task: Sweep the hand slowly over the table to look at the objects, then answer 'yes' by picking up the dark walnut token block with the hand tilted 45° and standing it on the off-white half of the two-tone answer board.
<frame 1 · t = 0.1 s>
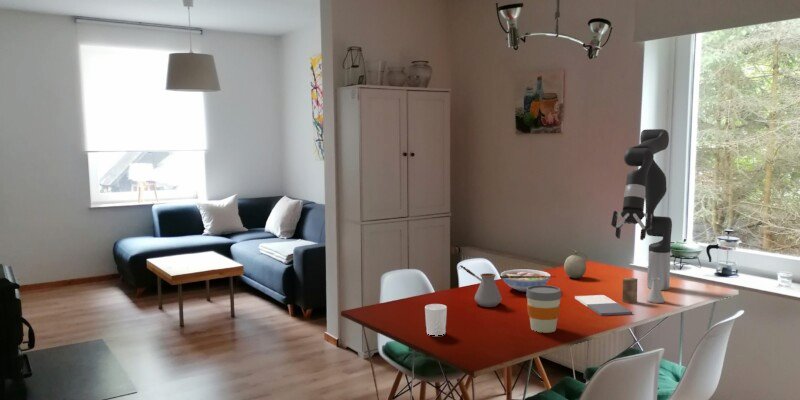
hand: (629, 238, 229), 31 cm above the table, tool tilted 20°, fingers open, 8 cm apart
fruit: (575, 278, 302), on the table
flask: (655, 301, 257), on the table
answer board: (602, 305, 251), on the table
token block: (629, 301, 257), on the table
ramen bowl: (525, 290, 280), on the table
white cup: (436, 334, 220), on the table
coffee pot: (478, 302, 260), on the table
reusable coffee cup: (543, 329, 223), on the table
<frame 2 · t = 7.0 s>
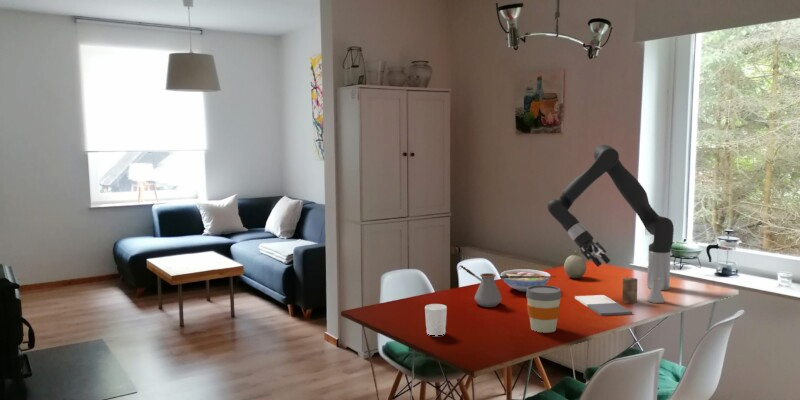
hand: (604, 263, 263), 15 cm above the table, tool tilted 45°, fingers open, 8 cm apart
nothing on the table moved.
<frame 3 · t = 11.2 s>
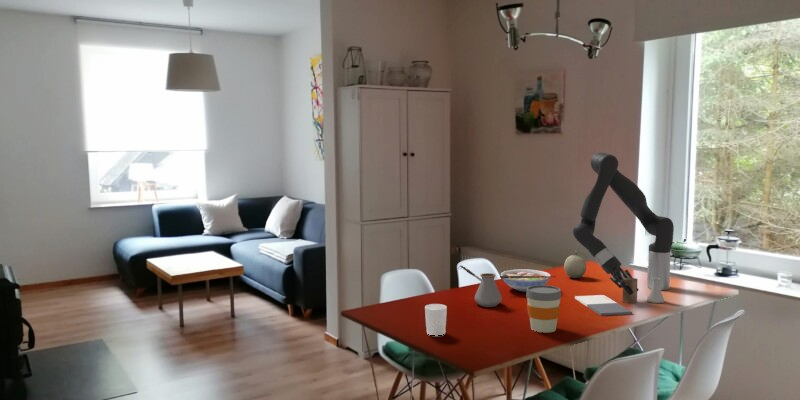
hand: (634, 292, 255), 4 cm above the table, tool tilted 45°, fingers closed on token block, 4 cm apart
token block: (629, 301, 257), on the table, touching gripper
everything else where it was.
when the fingers open (7 cm above the table, at t = 16.6 s): token block drops 1 cm, resting on answer board.
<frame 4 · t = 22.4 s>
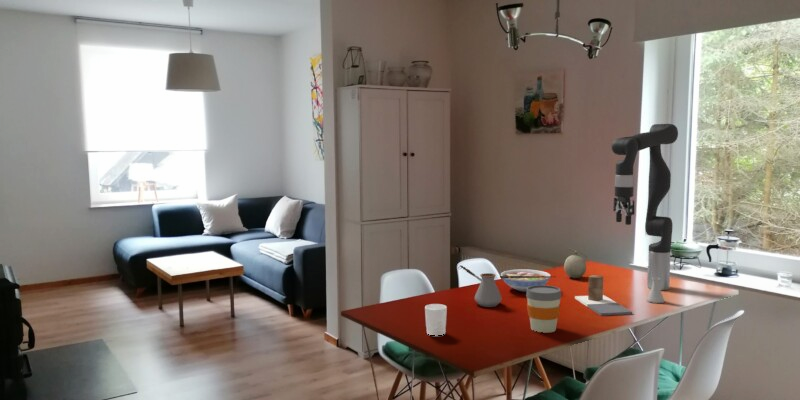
hand: (623, 223, 258), 33 cm above the table, tool pointing down, fingers open, 8 cm apart
token block: (595, 299, 258), point 1 cm above the table, touching answer board
everything else where it was.
at the end: token block inside the target area on the answer board (0.1 cm from its centre), point 1.0 cm above the answer board's base; token block tilted 0°; the gripper is holding nothing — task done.
